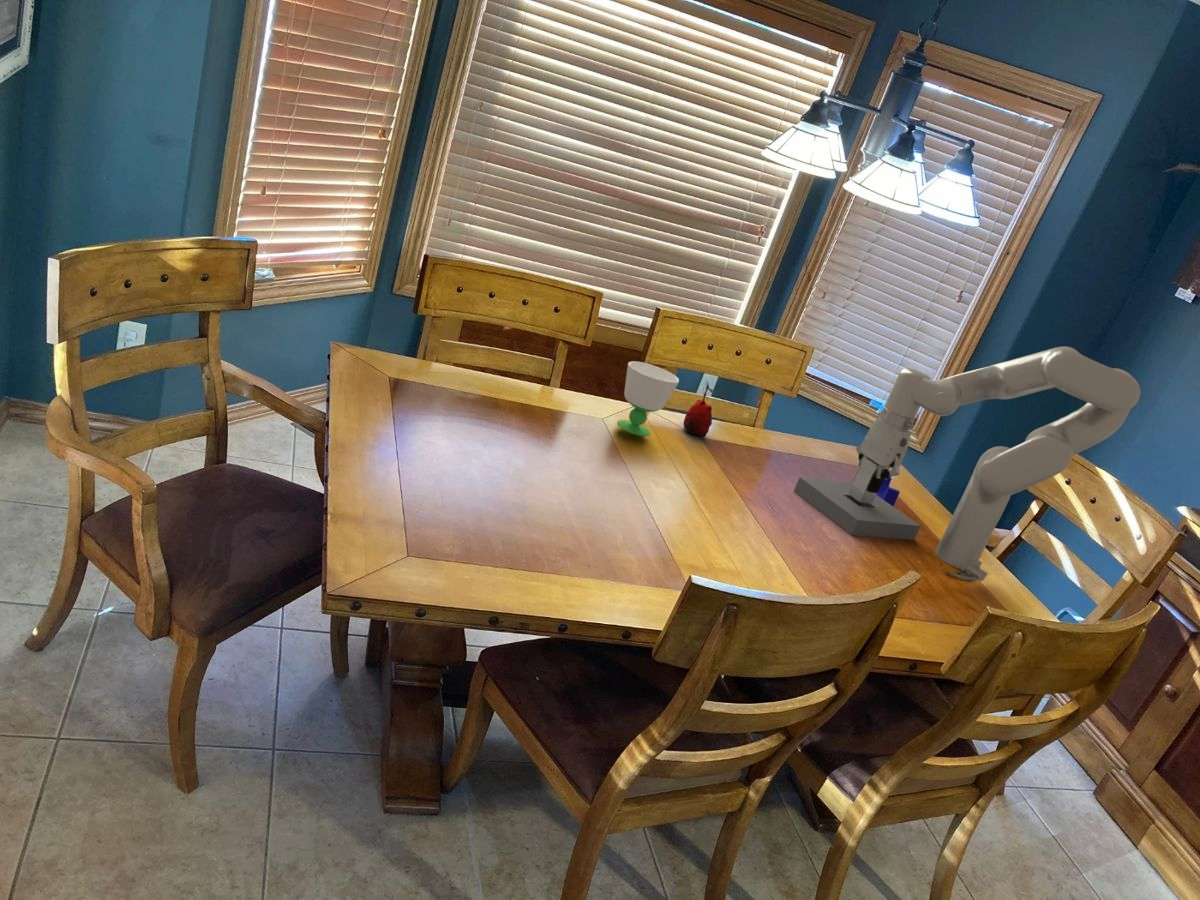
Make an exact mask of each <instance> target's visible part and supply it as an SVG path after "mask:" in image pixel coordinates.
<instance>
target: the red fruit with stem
mask: <svg viewBox="0 0 1200 900" xmlns="http://www.w3.org/2000/svg"><path fill="white" fill-rule="evenodd" d="M708 390H709V392H710V393H712V394H713V392H714V389H712V388H710V385H709V381H707V383H706V386H705V391H704V393H703V398H702V399H697V400H696V402H695V403H694V404H692V405H691V406H690V408H689V409H688V410H687V412H686V414H685V415H684V419H683V422H682V423H683V428H684V430H685V431H686V432H688V433H689V434H692V433H693V434H692V435H694V434H696V436H698V435H699V436H698V437H706V436H707V434H708V433H709V430H710V427H711V426H712V424H713V417H712V416H713V415H712V410H713V408H712V406H711V405H709V404H708V403H706V401H705V400H706V396H707V392H708Z"/></svg>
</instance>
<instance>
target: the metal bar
mask: <svg viewBox="0 0 1200 900" xmlns="http://www.w3.org/2000/svg"><path fill="white" fill-rule="evenodd" d="M859 467H860V468H859ZM859 467H858V469H859V471H858V470H857V472H858V473H857V472H856V474H857V475H856V474H855V476H856V477H855V476H854V478H855V479H853V482H852V483H853V484H852V486H851V488H850V491H849V493H848V494H849V495H850V496H852V497H853V498H855V499H856V500H857V501H859V502H862V503H871V504H872V503H873V501H874V499H875V497H876V495H877V493H871V492H868V488H869V486H870V484H871V481H872V479H873V477H876V474H877V470H878V467H879V465H878V464H877V463H875V462H874V461H872V460H871V459H869V458H864V459H863V462H862V464H861V466H859ZM883 472H884V469H883ZM883 472H882V473H883Z"/></svg>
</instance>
